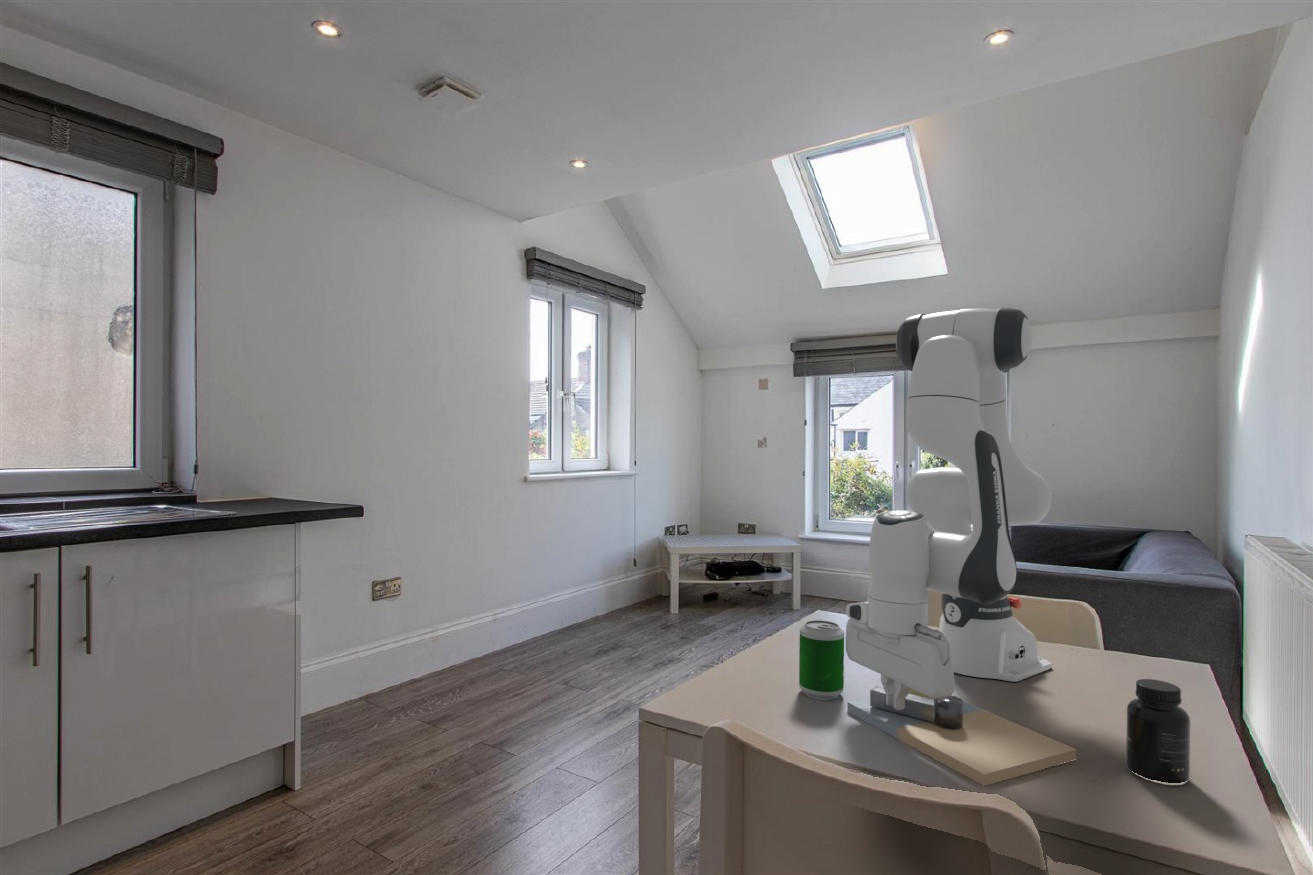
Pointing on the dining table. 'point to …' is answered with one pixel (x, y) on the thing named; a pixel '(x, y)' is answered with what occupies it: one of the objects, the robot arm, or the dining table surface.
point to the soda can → (821, 660)
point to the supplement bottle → (1158, 733)
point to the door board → (971, 742)
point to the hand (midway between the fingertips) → (895, 707)
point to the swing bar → (924, 708)
